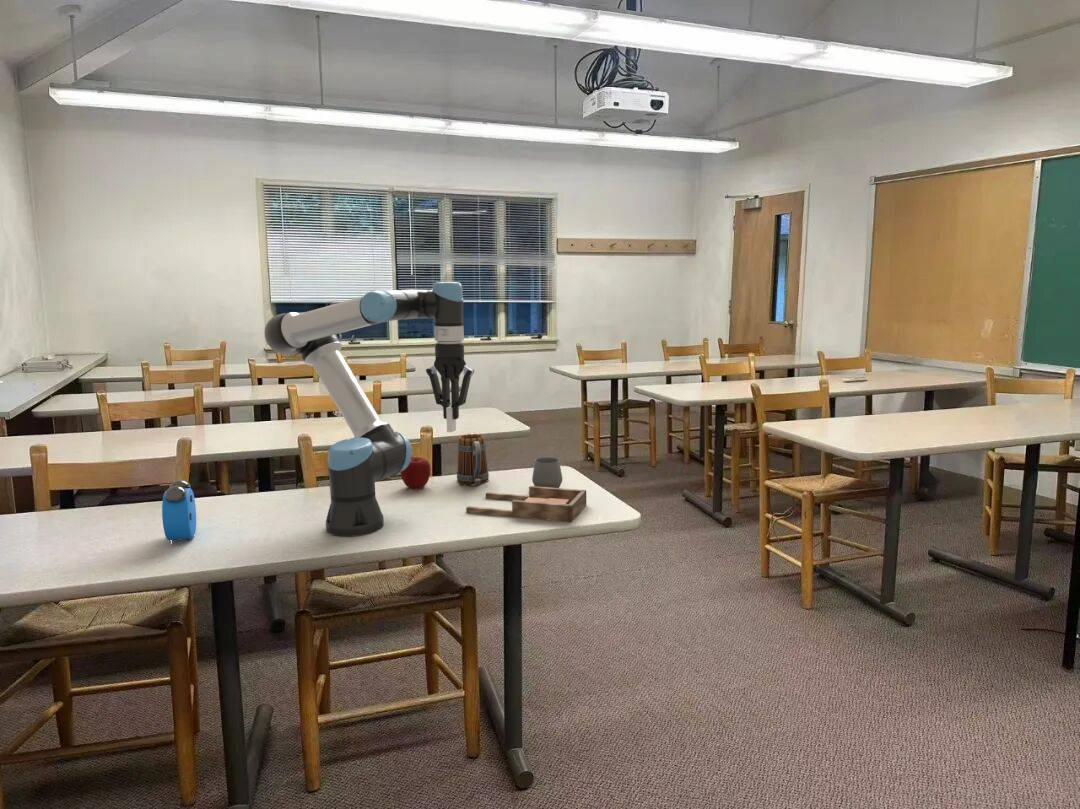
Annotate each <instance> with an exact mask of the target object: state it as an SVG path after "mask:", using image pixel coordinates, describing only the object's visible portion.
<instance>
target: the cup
mask: <svg viewBox="0 0 1080 809" xmlns="http://www.w3.org/2000/svg"><path fill="white" fill-rule="evenodd" d="M560 462H561V461H560V459H559V458H556V457H552V456H551V457H550V456H548V457H538V458H536V459H534V464H533V471H532V479H531V480H532V484H533V485H534V486H538V487H551V488H561V485H562V483H563V473H562V469H561V463H560Z"/></svg>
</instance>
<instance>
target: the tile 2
mask: <svg viewBox="0 0 1080 809" xmlns="http://www.w3.org/2000/svg"><path fill="white" fill-rule="evenodd" d="M545 503H557V504H569V500H568V499H555V498H549V499H548V500H547V501H546V502H545Z"/></svg>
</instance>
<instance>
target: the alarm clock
mask: <svg viewBox="0 0 1080 809" xmlns="http://www.w3.org/2000/svg"><path fill="white" fill-rule="evenodd" d="M161 514H162V515H161V516H162V520H161V521H162V527H163V532H164V536H165V538H166V540H167V541H168V540H169V541H168V542H171V541H170V540H176V541H181V540H180V539H184V540H190V539H189V538H192V539H194V538H195V536H194V534H195V535H196V533H195V532H197V507H196V499H195V495H194V491H193V489H192V488H191V484H190V482H188V481H186V480H184V479H178V480H175V481H173V482H172V483H171V484H170V485H169V488H168V489H167V490H165V492H164V493H163V497H162V506H161ZM193 537H194V538H193Z"/></svg>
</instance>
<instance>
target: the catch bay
mask: <svg viewBox="0 0 1080 809" xmlns="http://www.w3.org/2000/svg"><path fill="white" fill-rule="evenodd" d="M528 497H531V498H544V499H549V498H555V499H568V500H569V504H557V503H545V502H533V501H525V500H526V499H527V498H528ZM485 499H494V500H505V501H511V509H507V508H506V509H505V508H494V507H481V506H479V507H478V506H471V505H470V506H469V505H467V506H466V507H465V512H466V513H467V514H479V515H488V516H489V515H490V516H501V517H502V516H503V517H512V518H521V519H535V520H543V521H544V520H546V521H554V522H566V523H567V522H568V523H573V522H574V520H575V519H576V518H577V517H578V516H579V515H580V513H581V512H582V511H583V510H584V508H585V507H586V506H587V490H586V489H577V488H576V489H575V488H563V487H562V488H561V487H559V488H551V487H538V486H533V485H529V487H528V495H526V494H514V493H504V492H503V493H501V492H489V491H488V492H485Z"/></svg>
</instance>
